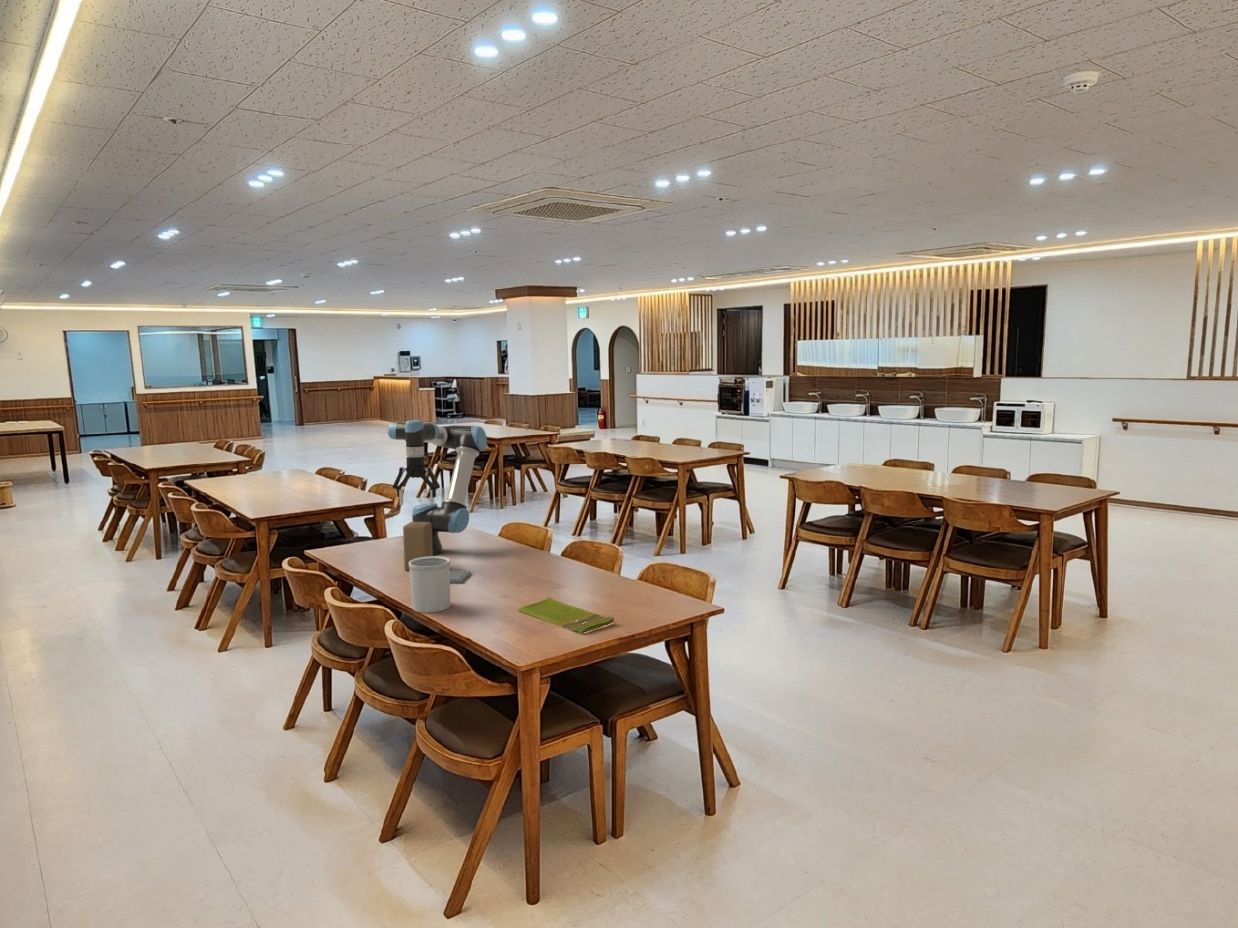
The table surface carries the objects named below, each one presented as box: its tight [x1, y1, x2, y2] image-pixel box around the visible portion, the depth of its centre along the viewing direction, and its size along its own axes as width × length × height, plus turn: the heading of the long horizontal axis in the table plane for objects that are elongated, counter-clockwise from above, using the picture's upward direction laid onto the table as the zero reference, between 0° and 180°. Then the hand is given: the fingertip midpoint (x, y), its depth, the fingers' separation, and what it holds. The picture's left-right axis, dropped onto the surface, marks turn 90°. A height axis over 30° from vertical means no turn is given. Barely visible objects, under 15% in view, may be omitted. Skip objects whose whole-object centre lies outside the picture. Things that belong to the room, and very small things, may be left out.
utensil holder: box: [409, 555, 451, 614], centre depth 290 cm, size 15×15×18 cm
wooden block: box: [402, 521, 434, 572], centre depth 346 cm, size 10×10×20 cm
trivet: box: [450, 569, 472, 585], centre depth 331 cm, size 16×16×1 cm
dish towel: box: [517, 596, 615, 634], centre depth 279 cm, size 15×36×3 cm, turn 44°
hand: (416, 504), depth 343 cm, fingers open, 13 cm apart
